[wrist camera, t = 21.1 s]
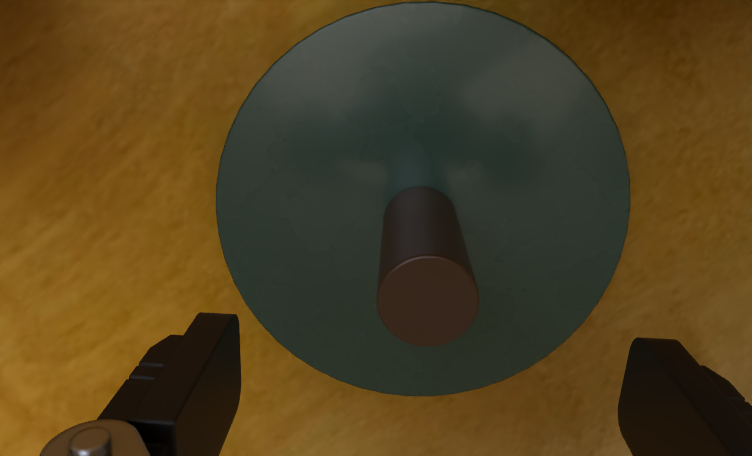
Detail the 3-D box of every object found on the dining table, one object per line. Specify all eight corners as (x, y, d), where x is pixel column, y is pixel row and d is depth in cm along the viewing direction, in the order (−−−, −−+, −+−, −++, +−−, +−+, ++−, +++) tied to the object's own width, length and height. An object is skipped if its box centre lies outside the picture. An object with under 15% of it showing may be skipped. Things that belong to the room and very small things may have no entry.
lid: (654, 12, 20) (799, 8, 13) (585, 390, 25) (662, 544, 18) (216, -8, 20) (112, -22, 13) (231, 369, 25) (162, 512, 18)
